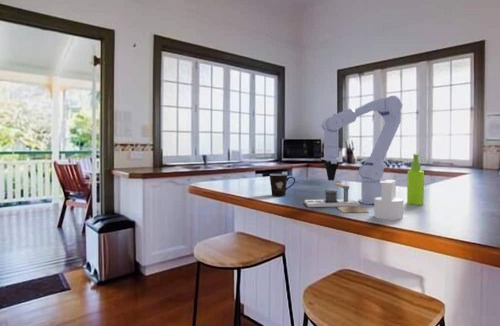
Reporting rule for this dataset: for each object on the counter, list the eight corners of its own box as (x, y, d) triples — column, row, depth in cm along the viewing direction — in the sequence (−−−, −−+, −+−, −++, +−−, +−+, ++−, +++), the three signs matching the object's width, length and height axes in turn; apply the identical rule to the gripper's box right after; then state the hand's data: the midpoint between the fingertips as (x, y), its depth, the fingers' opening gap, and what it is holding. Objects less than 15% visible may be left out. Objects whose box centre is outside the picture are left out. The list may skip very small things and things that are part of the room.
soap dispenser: (422, 202, 138) (423, 153, 137) (423, 205, 132) (424, 154, 130) (407, 201, 140) (407, 153, 139) (407, 204, 134) (407, 154, 133)
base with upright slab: (401, 221, 107) (401, 183, 106) (371, 217, 112) (371, 182, 111) (404, 215, 115) (405, 180, 114) (377, 212, 119) (377, 179, 119)
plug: (335, 203, 139) (335, 189, 138) (338, 205, 134) (338, 190, 133) (323, 203, 139) (323, 189, 138) (326, 205, 134) (326, 191, 133)
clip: (350, 188, 135) (350, 186, 135) (344, 189, 134) (344, 186, 134) (339, 184, 147) (339, 182, 147) (333, 185, 147) (333, 182, 147)
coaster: (360, 207, 129) (360, 206, 129) (368, 212, 120) (368, 211, 120) (336, 208, 129) (336, 207, 129) (343, 213, 120) (343, 211, 120)
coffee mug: (267, 196, 159) (266, 175, 158) (272, 193, 167) (272, 173, 166) (291, 197, 154) (290, 175, 154) (295, 194, 162) (295, 174, 162)
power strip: (352, 202, 141) (352, 187, 140) (359, 206, 132) (359, 190, 131) (304, 202, 141) (304, 188, 140) (308, 206, 132) (308, 191, 131)
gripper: (319, 146, 143) (319, 178, 144) (323, 147, 129) (323, 182, 130) (335, 146, 143) (335, 178, 143) (342, 147, 128) (342, 182, 129)
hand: (331, 180), depth 136 cm, fingers closed
